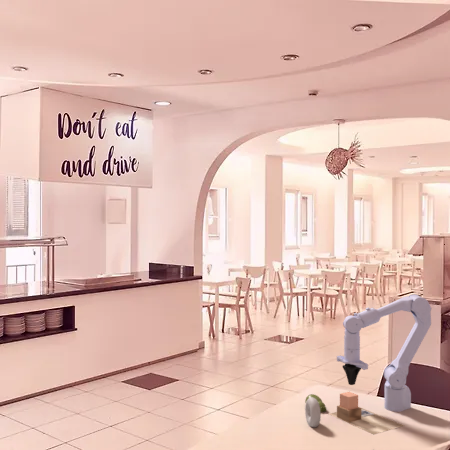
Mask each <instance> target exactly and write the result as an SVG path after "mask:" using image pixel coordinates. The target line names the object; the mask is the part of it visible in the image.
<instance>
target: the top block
mask: <svg viewBox="0 0 450 450" xmlns="http://www.w3.org/2000/svg"><path fill="white" fill-rule="evenodd" d="M339 405H340V407H343V408H345V409H347V410H351V409H355V408H358V407H359V395H358V394H357V393H354V392H351V391H346V392H342V393H339Z"/></svg>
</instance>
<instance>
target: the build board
mask: <svg viewBox="0 0 450 450" xmlns="http://www.w3.org/2000/svg"><path fill="white" fill-rule="evenodd" d="M360 408H361V419H360V420H357V421H353V422H347V421H344V420H342V419H340V418H338V417H337V411H335V412H332V413H331V412H330V413H328V415H329V416H332V417H334V418H336V419H338V420H341V421H342V422H345V423H347V424H349V425H352V426H353V427H356V428H358V429H360V430H362V431H365V432H367V433H369V434H371V435H377V434H381V433H384V432H387V431H391V430H395V429H398V428H401V427H405V425H404V424H402V423H400V422H397V421H394V420H392V419H390V418H387V417H385V416H383V415H380V414H378V413H375V412H372V411H370V410H368V409H366V408H363V407H360Z"/></svg>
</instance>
